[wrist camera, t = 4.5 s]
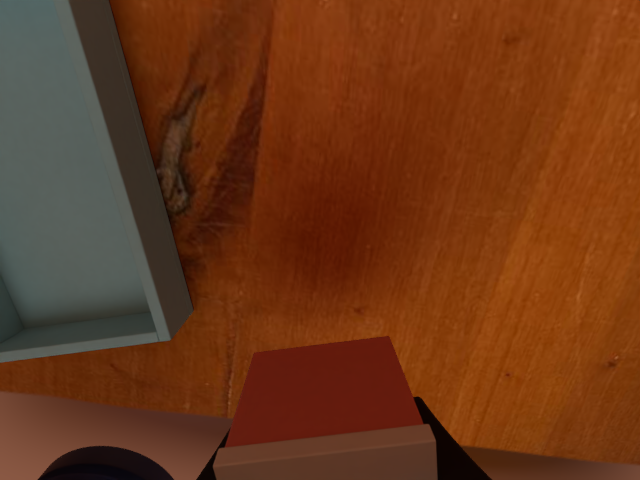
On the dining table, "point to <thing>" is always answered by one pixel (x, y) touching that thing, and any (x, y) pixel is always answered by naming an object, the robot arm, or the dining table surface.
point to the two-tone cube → (328, 418)
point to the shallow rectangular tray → (78, 191)
